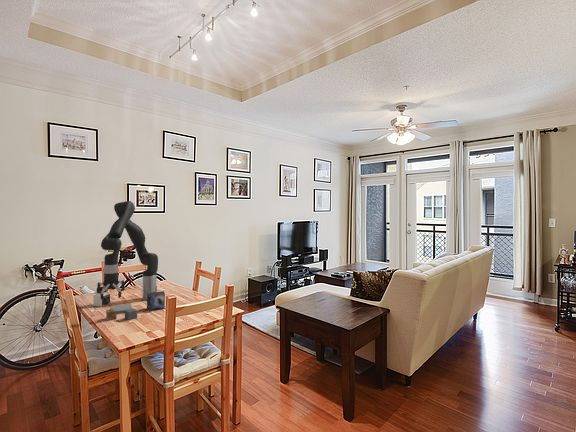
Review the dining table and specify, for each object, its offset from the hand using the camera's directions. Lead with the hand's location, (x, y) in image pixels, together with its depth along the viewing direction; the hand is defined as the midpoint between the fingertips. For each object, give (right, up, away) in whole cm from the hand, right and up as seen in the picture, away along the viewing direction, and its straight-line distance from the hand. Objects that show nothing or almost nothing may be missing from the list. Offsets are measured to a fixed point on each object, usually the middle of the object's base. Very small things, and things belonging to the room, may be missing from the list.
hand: (110, 298), depth 188 cm
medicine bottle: (-21, -11, +26) cm, 35 cm away
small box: (+18, -12, +20) cm, 30 cm away
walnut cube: (0, -12, 0) cm, 12 cm away
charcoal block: (+11, -12, +2) cm, 17 cm away
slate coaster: (-2, -12, +15) cm, 19 cm away
